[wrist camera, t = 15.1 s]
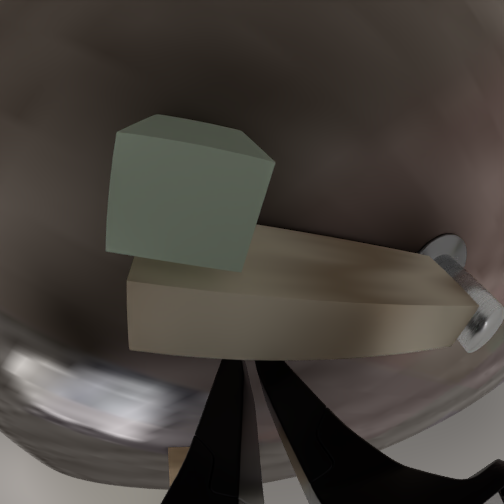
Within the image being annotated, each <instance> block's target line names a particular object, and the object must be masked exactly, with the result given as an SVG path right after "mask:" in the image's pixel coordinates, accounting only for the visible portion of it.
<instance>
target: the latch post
mask: <svg viewBox="0 0 504 504" xmlns="http://www.w3.org/2000/svg"><path fill="white" fill-rule="evenodd" d="M275 163H276V162H275V161H274V160H273V159H271V158H270V157H269V156H268V155H267V154H266V153H265V152H264V151H263V150H262V149H261V148H260V147H259V146H258V145H257V144H255V143H254V142H253V141H252V140H251V139H250V138H249V137H248V136H247V135H246V134H245V133H243V132H242V131H241V130H237V129H232V128H228V127H224V126H219V125H215V124H210V123H205V122H200V121H195V120H190V119H184V118H179V117H173V116H167V115H160V114H155V115H153V116H151V117H148V118H146V119H144V120H141V121H139V122H137V123H135V124H133V125H130V126H128V127H126V128H124V129H122V130H120V131H118V132H117V134H116V140H115V146H114V153H113V160H112V168H111V177H110V186H109V196H108V209H107V225H106V251H107V252H113V253H119V254H125V255H131V256H137V257H143V258H149V259H155V260H161V261H168V262H174V263H181V264H187V265H194V266H200V267H207V268H213V269H220V270H227V271H234V272H242V269H243V265H244V262H245V259H246V256H247V253H248V249H249V246H250V243H251V240H252V236H253V233H254V230H255V227H256V224H257V220H258V217H259V214H260V211H261V208H262V204H263V201H264V198H265V195H266V192H267V188H268V185H269V182H270V179H271V176H272V172H273V169H274V166H275Z"/></svg>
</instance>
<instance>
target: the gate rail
mask: <svg viewBox="0 0 504 504" xmlns="http://www.w3.org/2000/svg"><path fill="white" fill-rule="evenodd" d="M478 307H479V305H478V304H477V303H476V302H475V301H474V300H473V299H472V297H471V296H470V295H469V294H468V293H467V292H466V291H465V290H464V289H463V288H462V287H461V286H460V285H459V284H458V283H457V282H456V281H455V280H454V279H453V278H452V277H451V276H450V275H449V274H448V273H447V272H446V271H445V270H444V269H443V268H441V267H440V266H439V265H438V264H437V263H436V262H435V261H434V260H433V259H432V258H431V257H430V256H427V255H422V254H417V253H412V252H407V251H402V250H397V249H392V248H387V247H382V246H376V245H371V244H366V243H361V242H355V241H350V240H344V239H339V238H333V237H328V236H322V235H316V234H311V233H305V232H299V231H293V230H287V229H281V228H275V227H269V226H263V225H257V224H256V227H255V230H254V233H253V236H252V240H251V243H250V246H249V249H248V253H247V256H246V259H245V262H244V265H243V269H242V272H234V271H227V270H220V269H213V268H207V267H200V266H194V265H187V264H181V263H174V262H168V261H161V260H155V259H149V258H143V257H137V256H134V259H133V262H132V265H131V268H130V271H129V275H128V278H127V321H128V340H129V350H134V351H141V352H149V353H158V354H167V355H177V356H188V357H200V358H215V359H234V360H327V359H346V358H361V357H373V356H384V355H393V354H402V353H410V352H418V351H425V350H432V349H438V348H444V347H450V346H452V345H453V344H454V342H455V341H456V339H457V338H458V337H459V335H460V334H461V333H462V331H463V330H464V328H465V327H466V325H467V324H468V323H469V321H470V320H471V318H472V317H473V315H474V314H475V312H476V311H477V309H478Z"/></svg>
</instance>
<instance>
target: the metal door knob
mask: <svg viewBox="0 0 504 504" xmlns="http://www.w3.org/2000/svg"><path fill="white" fill-rule="evenodd" d="M417 254H422V255H427V256H430V257H431V258H432V259H433V260H434V261H435V262H436V263H437V264H438V265H439V266H440V267H441V268H443V269H444V270H445V271H446V272H447V273H448V274H449V275H450V276H451V277H452V278H453V279H454V280H455V281H456V282H457V283H458V284H459V285H460V286H461V287H462V288H463V289H464V290H465V291H466V292H467V293H468V294H469V295H470V296H471V297H472V299H473V300H474V301H475V302H476V303H477V304H478V305H479V307H478V309H477V311H476V312H475V314H474V315H473V317H472V318H471V320H470V321H469V323H468V324H467V325H466V327H465V328H464V330H463V331H462V333H461V334H460V335H459V337H458V338H457V340H458V341H459V342H460V343H461V345H462V346H463V347H464V349H465V350H466V351H467V352H468V353H472V352H474V351H476V350H478V349H479V348H480V347H482V346H483V345H484V344H485V343H486V342H487V341H488V340H489V339H490V338H491V337H492V336H493V335H494V333H495V332H496V331H497V329H498V328H499V326H500V325H501V323H502V321H503V319H504V307H503V306H502V305H501V304H500V303H499V302H498V301H497V300H496V299H495V298H494V297H493V296H492V295H491V294H490V293H489V292H488V291H487V290H486V289H485V288H484V287H483V286H482V285H481V284H480V283H479V282H478V281H477V280H476V279H475V278H474V277H473V276H472V275H471V274H470V273H469V272H468V271H467V270H465V269H464V266H465V262H466V255H467V252H466V246H465V243H464V241H463V240H462V239H461V238H460V237H459V236H457V235H455V234H444V235H440V236H438V237H436V238H434V239H433V240H431V241H430V242H429V243H427V244H426V245H425V246H424V247H423V248H422V249H421V250H420V251H419V252H418V253H417Z"/></svg>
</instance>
